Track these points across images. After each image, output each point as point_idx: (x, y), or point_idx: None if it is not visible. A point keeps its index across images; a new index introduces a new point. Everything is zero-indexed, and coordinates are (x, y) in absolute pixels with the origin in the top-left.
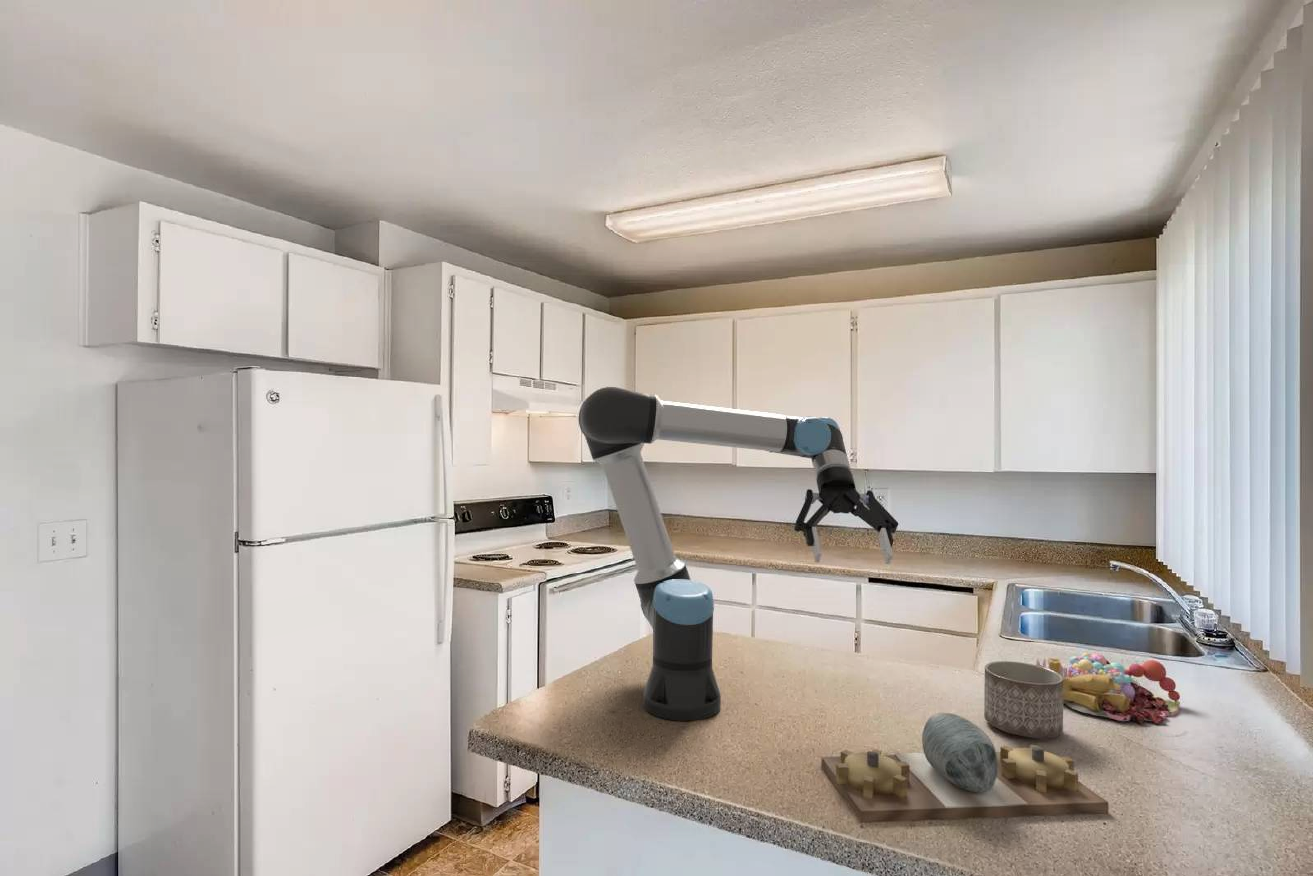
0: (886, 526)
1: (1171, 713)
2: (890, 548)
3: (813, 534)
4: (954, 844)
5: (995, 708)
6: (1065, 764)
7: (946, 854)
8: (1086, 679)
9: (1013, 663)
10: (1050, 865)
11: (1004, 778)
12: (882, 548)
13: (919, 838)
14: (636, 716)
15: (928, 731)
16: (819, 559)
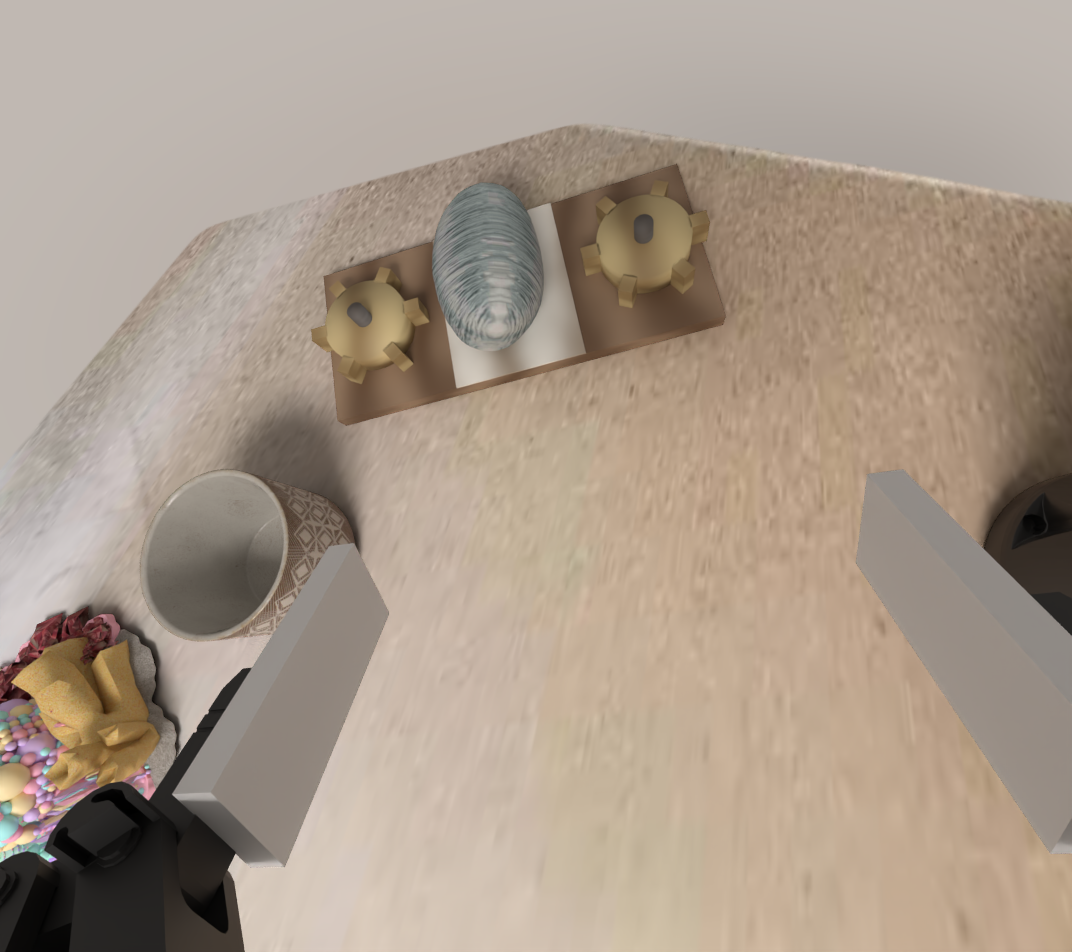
0: (144, 799)
1: (1, 668)
2: (309, 586)
3: (1067, 641)
4: (560, 163)
5: (331, 525)
6: (331, 312)
7: (577, 140)
8: (63, 691)
9: (194, 633)
10: (463, 154)
11: (431, 309)
12: (342, 698)
13: (602, 163)
14: None
15: (528, 266)
16: (863, 532)
